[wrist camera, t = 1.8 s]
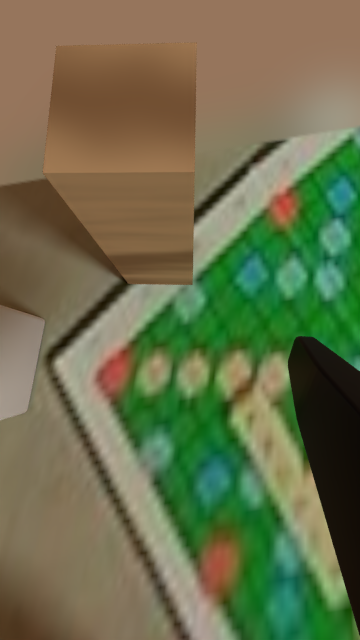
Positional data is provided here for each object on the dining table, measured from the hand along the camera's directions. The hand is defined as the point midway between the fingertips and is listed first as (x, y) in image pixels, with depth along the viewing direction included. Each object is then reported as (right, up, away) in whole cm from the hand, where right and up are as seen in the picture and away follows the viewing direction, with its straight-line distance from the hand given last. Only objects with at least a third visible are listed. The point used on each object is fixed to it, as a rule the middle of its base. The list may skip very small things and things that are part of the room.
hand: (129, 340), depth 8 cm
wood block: (0, +6, +15) cm, 16 cm away
